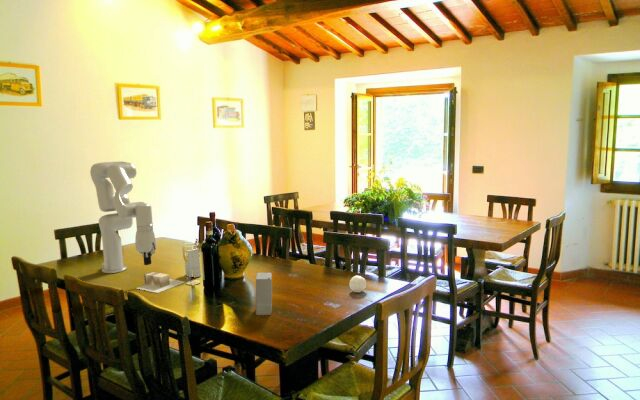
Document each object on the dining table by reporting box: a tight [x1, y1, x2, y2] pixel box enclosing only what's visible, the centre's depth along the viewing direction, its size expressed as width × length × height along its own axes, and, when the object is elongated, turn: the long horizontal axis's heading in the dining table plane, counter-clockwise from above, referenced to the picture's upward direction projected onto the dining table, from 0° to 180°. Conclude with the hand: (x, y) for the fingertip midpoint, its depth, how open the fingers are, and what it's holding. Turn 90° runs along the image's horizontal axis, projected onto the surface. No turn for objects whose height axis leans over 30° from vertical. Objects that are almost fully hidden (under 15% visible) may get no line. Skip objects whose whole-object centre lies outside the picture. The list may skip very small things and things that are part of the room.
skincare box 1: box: [183, 247, 202, 278], centre depth 248 cm, size 8×6×15 cm
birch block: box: [143, 271, 171, 287], centre depth 235 cm, size 5×5×12 cm
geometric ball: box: [348, 275, 367, 294], centre depth 218 cm, size 8×8×8 cm
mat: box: [135, 278, 186, 294], centre depth 234 cm, size 15×18×1 cm
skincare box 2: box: [255, 272, 273, 316], centre depth 196 cm, size 8×7×16 cm
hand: (147, 264), depth 237 cm, fingers closed
